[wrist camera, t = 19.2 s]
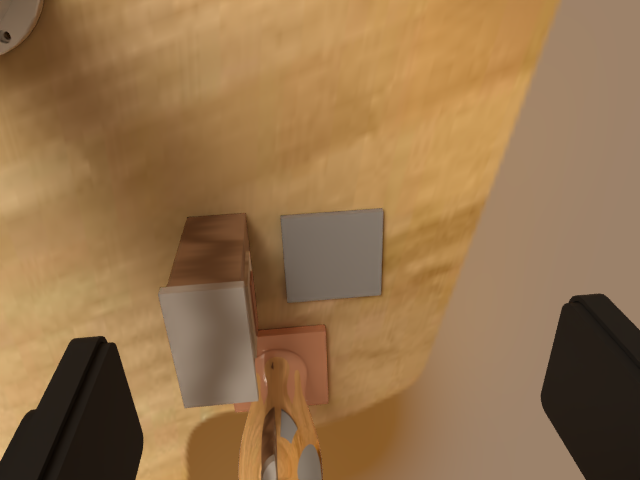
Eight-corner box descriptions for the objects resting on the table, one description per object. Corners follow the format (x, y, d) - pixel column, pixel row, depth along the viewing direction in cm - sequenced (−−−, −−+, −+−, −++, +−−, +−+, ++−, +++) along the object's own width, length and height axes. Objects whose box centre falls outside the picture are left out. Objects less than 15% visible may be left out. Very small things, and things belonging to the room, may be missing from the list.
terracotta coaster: (235, 405, 56) (235, 412, 55) (224, 333, 51) (223, 339, 50) (327, 396, 56) (328, 403, 55) (324, 324, 51) (325, 331, 50)
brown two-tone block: (201, 313, 49) (184, 408, 39) (183, 214, 44) (158, 294, 34) (261, 308, 50) (260, 400, 39) (250, 209, 44) (245, 287, 34)
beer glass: (250, 401, 54) (245, 543, 41) (237, 351, 51) (227, 490, 38) (315, 390, 54) (331, 529, 41) (306, 340, 51) (320, 475, 38)
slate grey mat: (287, 299, 49) (287, 302, 49) (280, 215, 45) (280, 218, 44) (379, 291, 50) (380, 295, 49) (382, 208, 46) (383, 211, 45)
